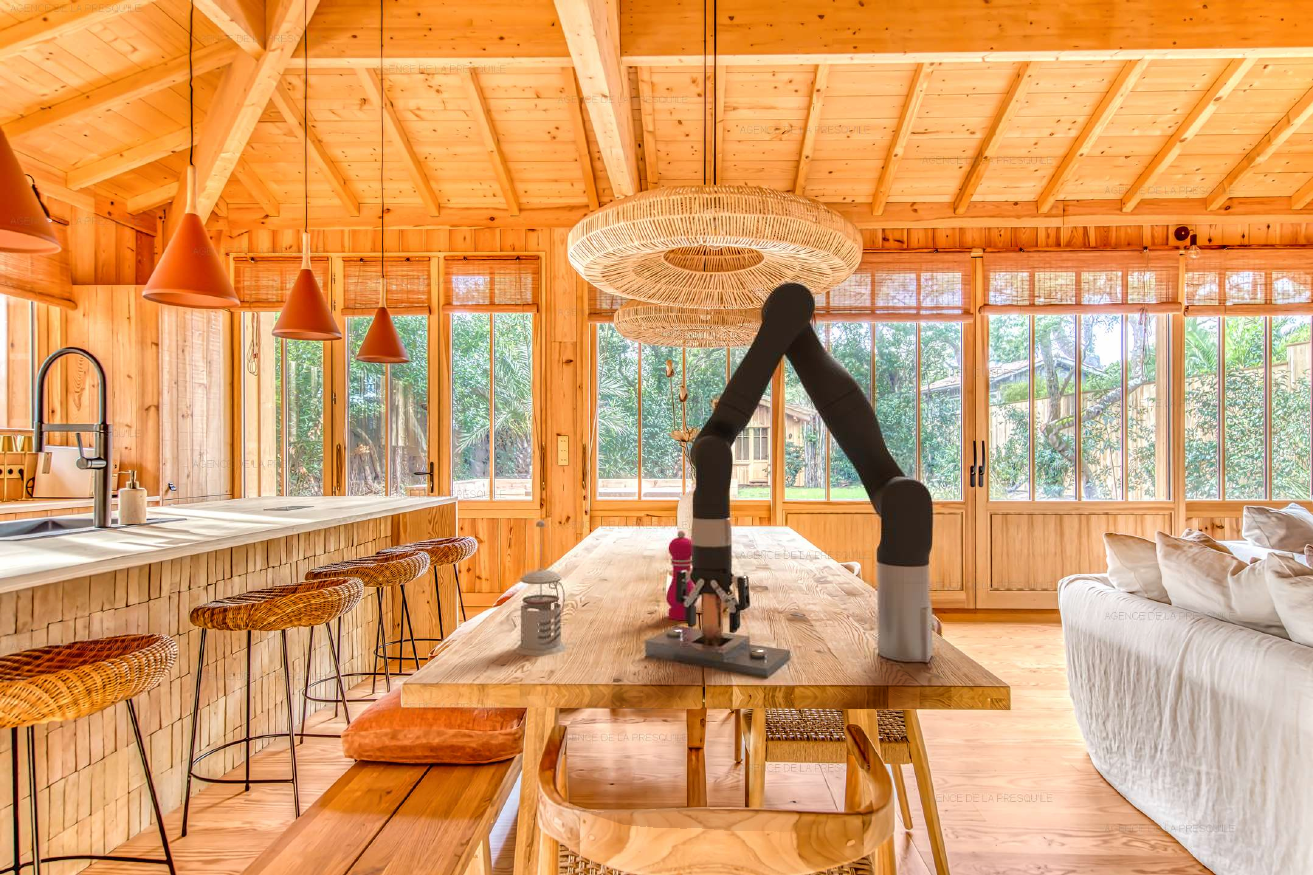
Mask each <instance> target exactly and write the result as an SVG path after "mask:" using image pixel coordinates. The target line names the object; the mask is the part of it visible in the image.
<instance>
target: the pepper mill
mask: <svg viewBox="0 0 1313 875" xmlns="http://www.w3.org/2000/svg"><path fill="white" fill-rule="evenodd" d="M677 536H678V537H675V538H673V539H672V540H671V541H670V542H669V545H668V553H669V554H670V556H671V557H672V558H670V561H671V562H670V565H671V566H672V579H671V581H670V584H669V586H668V589H667V592H666V597H665V598H666V602H667V603H668V605H669V606H670V608H668V617H669V619H671V620H673V621H674V620H675V621H685V618H686V617H685V616H686V615H685V606H684V605H683V604H682V603H677V602H676V577H677V572H679V571H681V570H687V571H688V572H691V566H692V541H691V538H690V539H689V538H688V537H686V532H685V531H683V530H679V531H678V532H677ZM694 587H695V585H694V584H693V582H692V580H691V578H690V580H689V582H688V583H687V597H688V596H689V593H690V592H691V591H692V589H693V588H694ZM697 602H698V600H697V601H696V602H695V604H694V606H696V603H697Z"/></svg>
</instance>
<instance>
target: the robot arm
mask: <svg viewBox="0 0 1313 875" xmlns="http://www.w3.org/2000/svg"><path fill="white" fill-rule="evenodd" d="M815 309H816V303H815V297H814V296H813V292H812V291H811V290H810V289H809V288H808V287H807V286H806V285H805V284H802V283H800V282H795V281H788V282H784V283H782V284H780V285H778V286H776V287H775V288H774V289H773V290H772V291H770V293H769V294H768V296H767V298H766V300H764V303H763V305H762V307H761V312H760V316H761V317H760V319H761V324H760V327H759V329H758V331H757V334H756V335H755V337H754V340H753V341H752V343H751V345H750V347H749V349H748V351H747V352H746V354H745V355H744V357H743V359H742V360H741V362H740V363H739V364H738V366H737V368H736V370H734V372H733V374H732V375H731V377H730V379H729V381H728V383H727V384H726V386H725V388H724V390H723V392H722V394H721V395H720V397H719V399H718V401H717V403H716V405H715V407H714V409H713V411H712V413H711V415H710V417H709V418H708V419H707V421H706V422H705V423H704V426H702V428H701V429H700V431H699V433H698V434H697V436H696V438H695V439H694V441H693V443H692V444H691V448H690V452H689V457H690V462H691V463H692V466H693V467H694V468H695V489H694V490H693V493H692V520H691V521H692V522H691V523H692V524H691V532H690V533H691V536H690V540H691V541H692V556H691V558H692V565H691V566H692V567H691V569H692V570H691V571H690V572H688V571H687V570H681V571H679V572H677V577H676V602H677V603H682V604H683V605H684V606H685V615H686V616H685V617H686V618H685V620H684V621H685V624H687V628H694V627H696V625H697V606H696V604H695V602H696V601H697V602H698V600H699V599H700V598H701V594H702V593H710V594H718V596H719V597H720V598H721V600H722V601H723V604H725V605H726V606H727V608H728V609H729V611H730V612H729V613H728V616H729V618H728V619H729V620H728V621H729V622H728V623H729V625H728V626H729V627H728V628H729V629H728V630H729V634H735V633H736V632H737V631H738V630H739V629H740V628H741V611H745V610H746V609H748V608H750V606H751V598H750V595H751V594H750V584H749V576H748V575H747V574H743V575H741V576H740V575H733V571H732V567H733V555H732V554H733V553H732V552H733V551H732V550H733V549H732V548H733V546H732V545H733V543H732V542H733V540H732V539H733V538H732V536H733V535H732V534H733V533H732V526H731V525H732V524H731V500H730V490H731V485H732V484H731V483H732V476H733V475H732V474H733V464H734V456H733V449H732V446H733V444H734V443H735V442H736V439H737V438H738V437H739V436H738V435H739V434H741V433H742V432H743V431H744V430H745V429H746V428H747V426H748V425H749V423H750V421H751V419H752V417H753V415H754V413H755V412H756V410H757V408H758V406H759V405H760V402H761V400H762V399H763V396H764V394H765V392H766V390H767V388H768V386H769V384H770V382H771V380H772V379H773V378H772V377H773V375H774V374H775V372H776V370H777V368H778V366H779V365H780V363H781V361H782V359H783V357H784V356H785V358H786V359H787V360H788V361H789V363H790V365H791V366H792V368H793V370H794V372H795V373H796V376H797V377H798V379H799V382H800V383H801V385H802V387H803V388H804V390H805V392H806V394H807V395H808V397H809V398H810V401H811V403H812V404H813V406H814V408H815V409H816V410H815V411H817V414H818V415H819V417H820V418H821V420H822V421H823V424H824V425H825V426H826V428H827V430H828V431H829V433H830V434H831V437H832V438H834V440H835V442H836V444H837V445H838V447H839V448H840V449H841V450H842V452H843V453H844V456H846V457H847V460H849V462H850V464H851V465H852V466H853V468H854V470H855V471H856V473H857V475H858V477H859V479H860V481H861V484H862V486H863V488H864V490H865V492H866V493H867V494H866V495H867V497H868V499H869V500H870V504H871V506H872V507H873V510H874V511H875V513H876V514H877V516H878V517H879V518H880V541H879V544H878V546H877V548H876V584H877V586H876V588H877V589H876V590H877V594H876V597H877V605H876V606H877V607H876V609H877V653H878V654H879V656H881V657H883V658H885V659H887V660H892V661H898V662H907V663H920V662H921V663H929V662H930V660H931V658H932V657H933V605H932V603H931V601H930V599H931V598H930V597H931V596H930V593H931V592H930V587H931V586H930V554H931V551H932V547H933V539H934V538H933V535H934V534H933V533H934V530H933V529H934V507H933V506H934V505H933V504H934V503H933V500H932V495H931V493H930V491H929V489H928V488H927V487H926V485H925V484H924V483H922V481H919V480H917V479H914V478H910V477H908V476H906V474H905V472H904V471H902V469H901V467H900V466H899V464H898V463H897V462H896V460H895V459H894V457H893V456H892V454H891V453H890V450H889V449H888V447H887V444H886V442H885V439H884V437H883V434H882V433H883V432H882V429H881V427H880V426H881V425H880V423H879V420H878V418H877V415H876V414H877V413H876V412H875V409H874V408H873V406H872V404H871V402H870V400H869V398H868V397H867V396H866V394H865V392H864V391H863V389H862V387H861V386H860V383H859V382H858V380H856V378H855V377H854V376H853V374H851V373H850V372H849V370H847V368H846V367H845V366H844V365H842V363H840V362H839V361H838V360H837V359H836V358H835V357H834V356H833V355H832V354H831V353H830V352H829V350H827V349H826V347H825V346H824V345H823V343H822V341H821V340H820V338H819V337H818V335H817V332H816V330H815V329H814V327H813V325H812V323H811V320H812V318H813V317H814V313H815ZM690 578H691V580H692V582H693V585H694V588H693V589H692V591H691V592H690V593H689V596H688V597H687V583H688V582H689V580H690ZM733 584H734V586H735V588H736V589H737V594H738V595H737V597H738V598H737V597H736V593H735V592H734V591H733V589H732V588H731V586H732V585H733ZM697 602H696V603H697ZM694 604H695V605H694Z"/></svg>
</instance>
